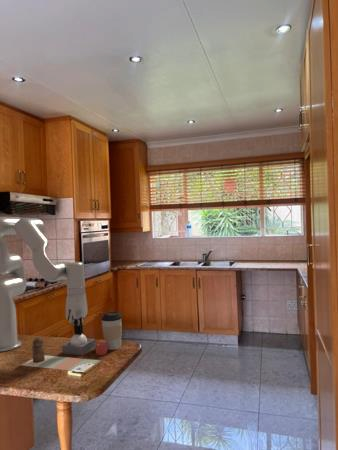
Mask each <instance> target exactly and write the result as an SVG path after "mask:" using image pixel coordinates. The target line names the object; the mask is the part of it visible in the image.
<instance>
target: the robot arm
mask: <svg viewBox="0 0 338 450" xmlns="http://www.w3.org/2000/svg"><path fill="white" fill-rule="evenodd" d="M45 230H46V226H45V223H44V222H43V220H41V219H40V218H37V217H23V216H21V217H20V216H0V276H5V275H7V276H6V277H3V278H0V352H6V351H7V352H8V351H12V350H15V349H17V348H19V347H20V346H22V341H21V340H18V329H17V327H18V323H17V308H16V304H15V302H14V300H13V299H12V298H13V297H17V296H19V295H22V294H23V293H25V291H26V289H27V277H26V269H25V262H24V260H23V258H22V257H21V256H20V254H17V253H10V251H9V247H8V246H9V245H8V242H7V241H6V239H5V238H4V237H3V236H12V235H13V236H14V235H17V236H18V237H19V239H21V241H22V242H23V243H24V245H26V247H27V248H28V249H29V251H30V252H31V259H32V264H33V266H34V269H35V271H37V272H38V274H39V275H40V276H41V277H42V279H44V280H45V281H47V282H49V283H53V282H57V281H60V280H65V279H66V293H67V296H66V299H65V319H66V320H69V321H68V322H69V324H72V325H73V328H74V329H73V330H74V335H75V334H79V335H81V334H83V333H84V328H83V327H84V325H83V324H84V319H85V318H86V317H87V315H88V310H89V309H88V300H87V295H86V282H85V281H86V280H85V266H84V263H83V262H82V261H74V262H69V261H60V262H54V263H53V262H51V260H50V259H49V258H48V256H47V254H46V251H45V250H46V249H48V246H49V244H50V241H49V239H48V238H47V237H46V236H45V235H44V233H45Z"/></svg>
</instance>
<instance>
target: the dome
mask: <svg viewBox="0 0 338 450" xmlns="http://www.w3.org/2000/svg"><path fill="white" fill-rule="evenodd" d="M87 339H88V338H87V337H86V335H85V334H83V333H82V334H81V335H79V334H75V333H74V334H73V335H72V337H71V338H70V341H71V342H70V345H79V346H82V345H83V344H85V343H87Z"/></svg>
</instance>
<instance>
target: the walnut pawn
mask: <svg viewBox="0 0 338 450" xmlns="http://www.w3.org/2000/svg"><path fill="white" fill-rule="evenodd" d="M31 348H32V358H33V362H34V363H39V362H43V361H44V360H45V356H44V355H45V344H44V340H43V339H42V338H41V337H35V338H34V339H33V340H32V346H31Z"/></svg>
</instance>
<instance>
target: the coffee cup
mask: <svg viewBox="0 0 338 450" xmlns="http://www.w3.org/2000/svg"><path fill="white" fill-rule="evenodd" d="M122 318H123V316H122V315H121V314H120V312H118V311H108V312H105V313H103V315H102V316H101V319H100V320H101V327H102V335H103V339H104V341H103V342H107V350H111V351H112V350H119V349H120V348H122V334H123V333H122V331H123V330H122V329H123V328H122V327H123V325H122V324H123V323H122Z"/></svg>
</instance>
